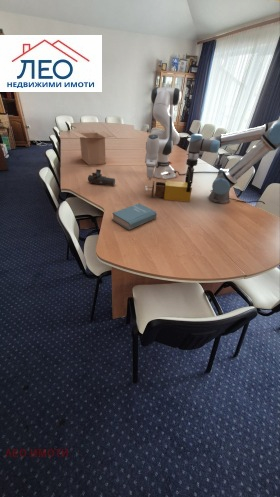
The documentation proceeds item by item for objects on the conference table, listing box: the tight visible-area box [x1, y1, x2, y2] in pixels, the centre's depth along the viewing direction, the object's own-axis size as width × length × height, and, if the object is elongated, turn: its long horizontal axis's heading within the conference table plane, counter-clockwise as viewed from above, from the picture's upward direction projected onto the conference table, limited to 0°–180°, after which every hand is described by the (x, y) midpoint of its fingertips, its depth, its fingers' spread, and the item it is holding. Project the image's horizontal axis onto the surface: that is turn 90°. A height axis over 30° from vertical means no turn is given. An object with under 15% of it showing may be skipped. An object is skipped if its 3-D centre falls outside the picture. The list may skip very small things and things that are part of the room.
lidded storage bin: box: [163, 180, 193, 203], centre depth 168 cm, size 19×11×11 cm, turn 86°
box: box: [70, 129, 114, 166], centre depth 229 cm, size 44×36×27 cm
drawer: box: [144, 180, 165, 198], centre depth 169 cm, size 24×10×9 cm, turn 86°
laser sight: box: [87, 168, 116, 186], centre depth 182 cm, size 10×22×10 cm, turn 78°
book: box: [112, 202, 158, 231], centre depth 138 cm, size 23×16×5 cm
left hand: (149, 179), depth 165 cm, fingers closed
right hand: (187, 188), depth 166 cm, fingers open, 13 cm apart
